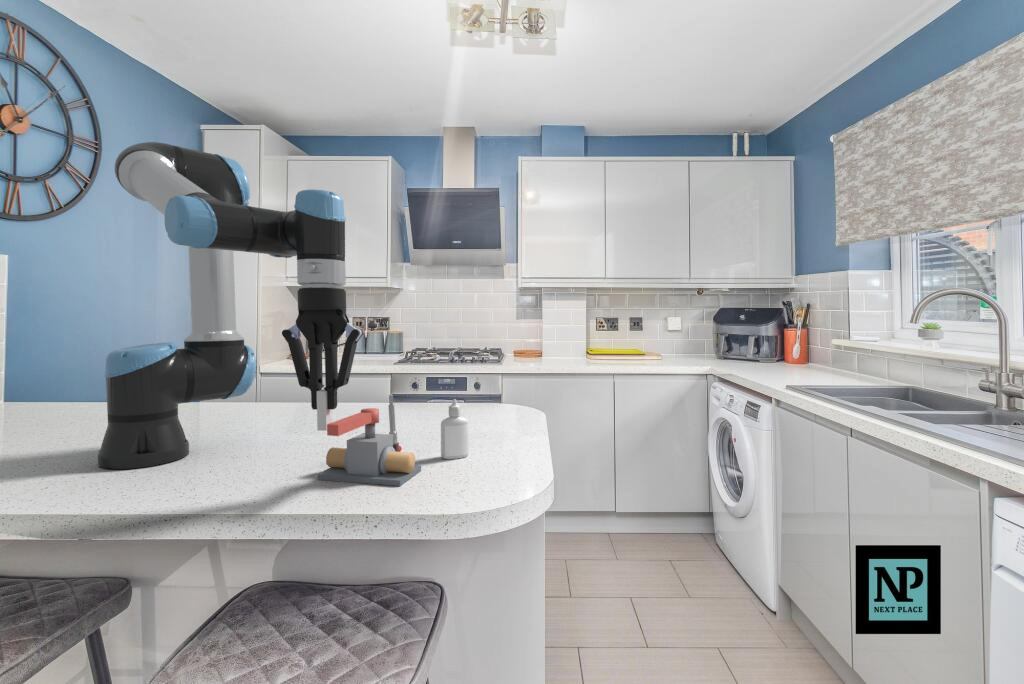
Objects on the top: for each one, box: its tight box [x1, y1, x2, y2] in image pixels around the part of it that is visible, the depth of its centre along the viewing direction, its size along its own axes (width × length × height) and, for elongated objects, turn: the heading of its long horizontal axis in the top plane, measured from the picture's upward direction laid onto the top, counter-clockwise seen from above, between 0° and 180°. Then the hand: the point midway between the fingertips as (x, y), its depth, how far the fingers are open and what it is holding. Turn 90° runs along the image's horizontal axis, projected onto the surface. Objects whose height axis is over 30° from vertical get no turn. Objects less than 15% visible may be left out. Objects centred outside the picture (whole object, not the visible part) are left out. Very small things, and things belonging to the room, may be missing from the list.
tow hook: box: [388, 394, 402, 452], centre depth 107 cm, size 8×13×9 cm
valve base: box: [317, 423, 422, 487], centre depth 94 cm, size 16×9×10 cm, turn 77°
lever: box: [326, 407, 380, 437], centre depth 88 cm, size 14×3×2 cm, turn 167°
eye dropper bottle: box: [440, 399, 470, 460], centre depth 106 cm, size 4×6×12 cm
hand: (325, 428), depth 86 cm, fingers closed
